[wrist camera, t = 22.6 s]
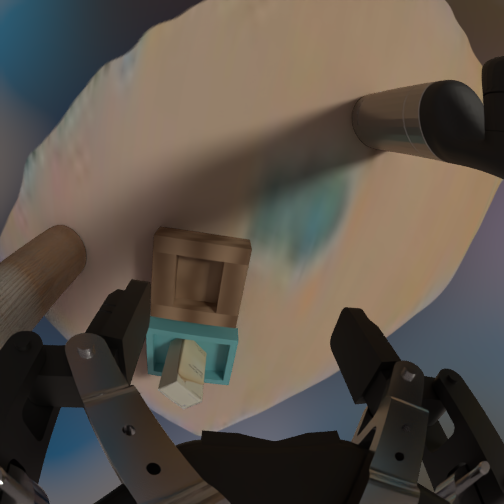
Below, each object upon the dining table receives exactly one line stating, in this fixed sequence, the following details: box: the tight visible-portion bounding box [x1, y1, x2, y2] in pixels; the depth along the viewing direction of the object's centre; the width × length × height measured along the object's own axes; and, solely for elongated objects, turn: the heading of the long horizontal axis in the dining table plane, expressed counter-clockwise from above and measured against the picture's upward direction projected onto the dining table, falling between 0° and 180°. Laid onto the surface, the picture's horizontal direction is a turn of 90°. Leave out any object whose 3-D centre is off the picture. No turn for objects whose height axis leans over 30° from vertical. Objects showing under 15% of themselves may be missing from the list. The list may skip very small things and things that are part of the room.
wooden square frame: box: [151, 227, 252, 328], centre depth 44 cm, size 14×14×4 cm
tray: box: [146, 316, 238, 385], centre depth 50 cm, size 16×12×4 cm
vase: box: [0, 225, 86, 350], centre depth 29 cm, size 10×10×28 cm
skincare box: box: [158, 338, 207, 409], centre depth 45 cm, size 6×4×12 cm
